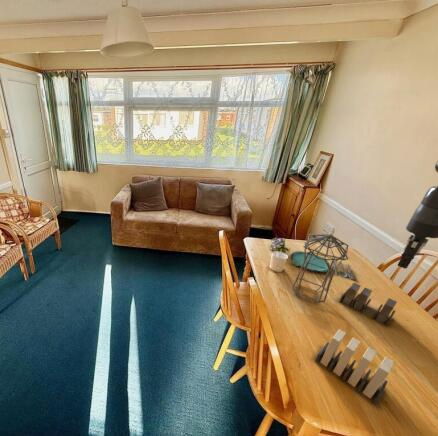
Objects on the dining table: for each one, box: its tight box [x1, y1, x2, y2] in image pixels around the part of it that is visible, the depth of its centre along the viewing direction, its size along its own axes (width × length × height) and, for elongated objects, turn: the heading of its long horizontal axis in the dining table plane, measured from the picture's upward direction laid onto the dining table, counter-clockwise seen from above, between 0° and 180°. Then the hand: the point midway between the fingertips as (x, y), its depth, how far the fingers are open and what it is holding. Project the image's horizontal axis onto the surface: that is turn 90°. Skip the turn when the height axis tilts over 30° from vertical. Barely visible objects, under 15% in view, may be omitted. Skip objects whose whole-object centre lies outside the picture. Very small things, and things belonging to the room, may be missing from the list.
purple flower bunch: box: [270, 237, 291, 254], centre depth 147 cm, size 11×11×12 cm
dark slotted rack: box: [314, 328, 395, 405], centre depth 76 cm, size 17×8×14 cm, turn 35°
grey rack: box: [338, 282, 398, 327], centre depth 102 cm, size 17×8×10 cm, turn 35°
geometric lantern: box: [291, 233, 349, 304], centre depth 105 cm, size 16×16×35 cm
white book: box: [332, 337, 361, 377], centre depth 77 cm, size 2×6×13 cm, turn 124°
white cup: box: [269, 250, 289, 273], centre depth 129 cm, size 8×8×10 cm
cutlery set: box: [290, 250, 354, 280], centre depth 134 cm, size 20×30×2 cm, turn 58°
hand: (404, 262), depth 78 cm, fingers open, 8 cm apart
